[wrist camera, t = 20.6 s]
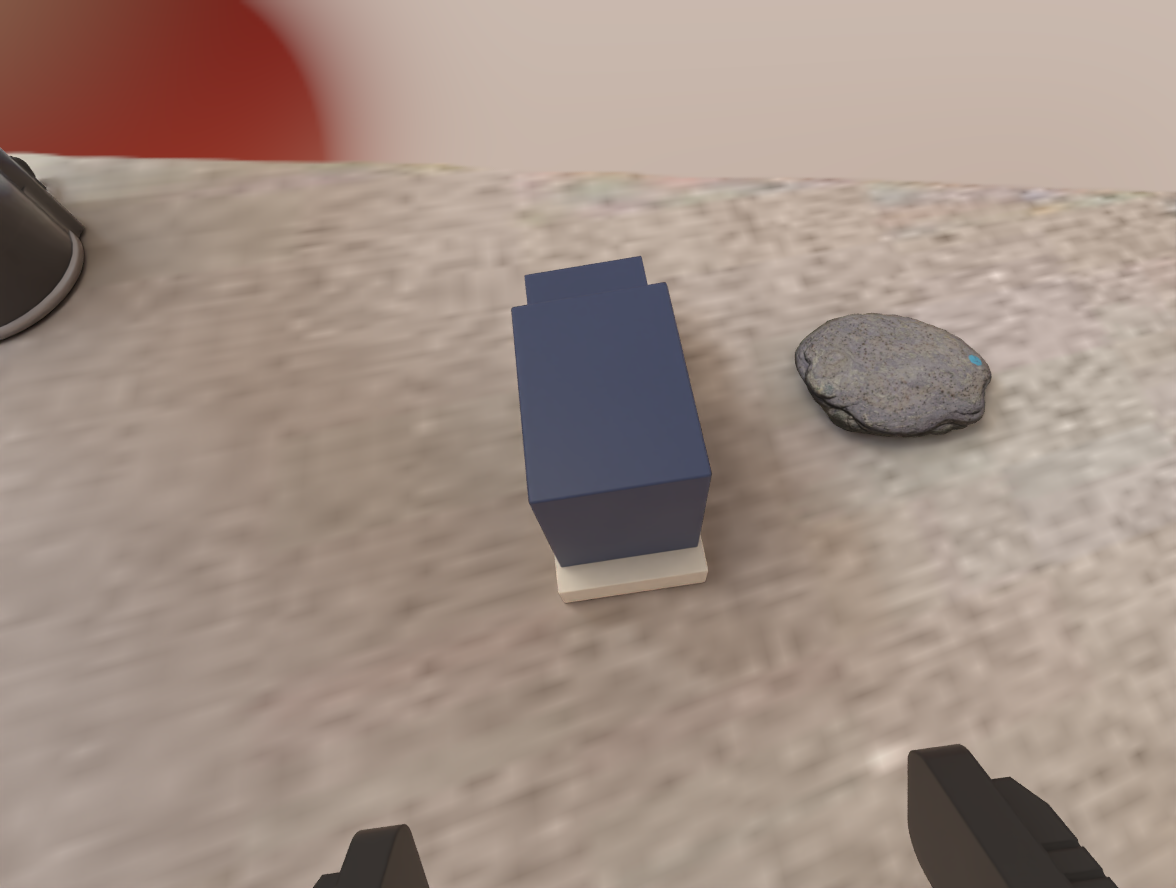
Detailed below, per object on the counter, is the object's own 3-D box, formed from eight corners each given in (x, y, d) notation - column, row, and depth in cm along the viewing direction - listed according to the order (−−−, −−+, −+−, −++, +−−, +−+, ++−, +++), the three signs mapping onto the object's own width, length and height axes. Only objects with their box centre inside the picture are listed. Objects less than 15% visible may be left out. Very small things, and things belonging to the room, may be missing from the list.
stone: (810, 307, 32) (820, 278, 30) (987, 351, 30) (1009, 321, 28) (773, 418, 30) (781, 393, 28) (964, 474, 27) (987, 451, 25)
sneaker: (705, 582, 26) (726, 505, 18) (564, 603, 27) (524, 536, 19) (648, 317, 33) (646, 174, 25) (534, 336, 33) (496, 200, 25)
